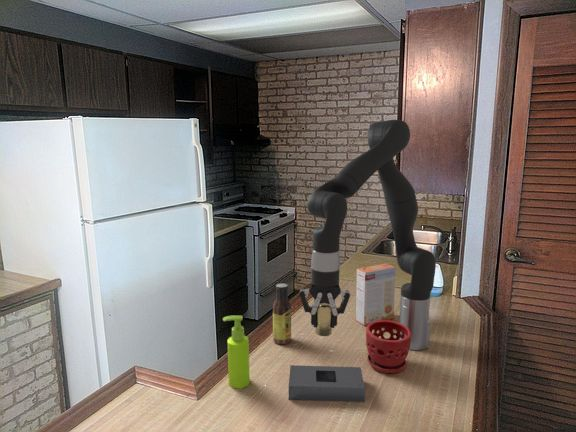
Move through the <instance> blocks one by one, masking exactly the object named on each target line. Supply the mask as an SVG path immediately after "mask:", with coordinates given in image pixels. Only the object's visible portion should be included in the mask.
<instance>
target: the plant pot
mask: <svg viewBox="0 0 576 432" xmlns="http://www.w3.org/2000/svg"><path fill="white" fill-rule="evenodd" d="M394 331H396V332H394ZM400 332H402V335H401V334H400ZM385 333H388V334H389V336H390V337H388V338H386V337H385V336H384V334H385ZM405 334H406V338H405V337H404V336H405ZM394 336H395V337H394ZM399 338H402V339H400V340H399ZM410 343H411V332H410V330H409V329H408V328H407V327H406V326H405V325H403V324H400V323H399V322H398V321H395V320H380V321H375V322H372V323H370V324H369V325H367V327H366V329H365V344H366V345H365V346H366V350H367V353H368V354H367V357H366V360H367V362H368V364H369V366H371V367H372V368H373V369H374V370H376V371H379V372H381V373H385V374H396V373H399V372H401V371H403V370H404V369H405V368H406V366H407V357H408V354H409V353H410Z"/></svg>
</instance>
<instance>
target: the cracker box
mask: <svg viewBox="0 0 576 432" xmlns="http://www.w3.org/2000/svg"><path fill="white" fill-rule="evenodd" d="M396 269H397V268H396V266H393V265H391V264H389V263H380V264H377V265H370V266H364V267H359V268H356V295H355V296H356V297H355V301H356V303H355V322H356V321H357V322H358V323H359V324H360V325H362V326H364V327H366V326H368V325H369V324H370V323H372V322H375V321H380V320H389V321H392V320H393V319H394V318H395V297H396V296H395V293H396V292H395V291H396Z"/></svg>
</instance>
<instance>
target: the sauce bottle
mask: <svg viewBox="0 0 576 432" xmlns="http://www.w3.org/2000/svg"><path fill="white" fill-rule="evenodd" d="M275 290H276V295H275V299H274V301H273V304H272V337H273V339H272V340H273V342H274V343H275V344H278V345H286V344H289V343H290V342H291V340H292V305H291V303H290V301H289V297H288V290H289V286H288V284H287V283H277V284H276V285H275Z"/></svg>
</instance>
